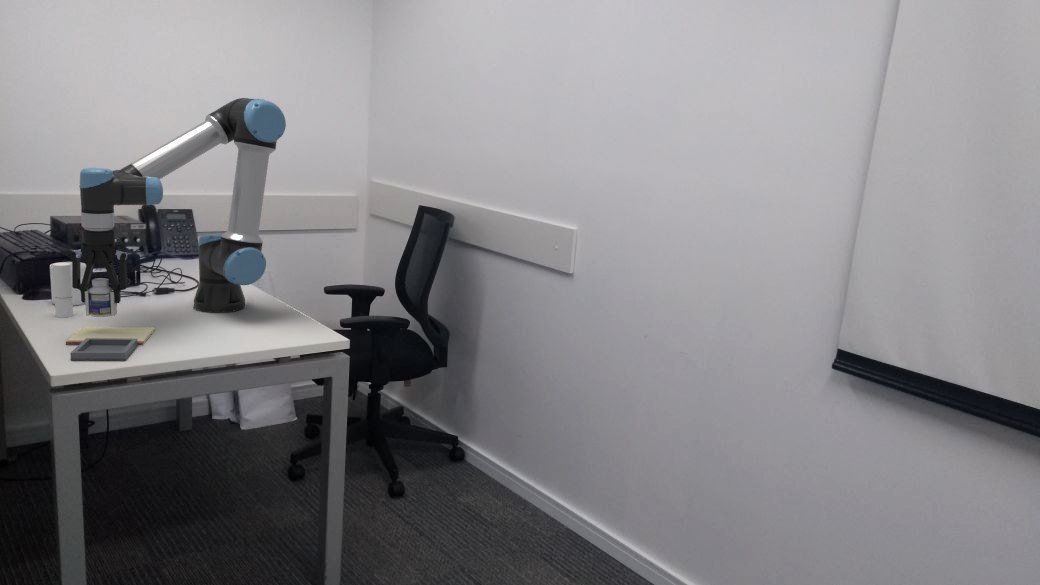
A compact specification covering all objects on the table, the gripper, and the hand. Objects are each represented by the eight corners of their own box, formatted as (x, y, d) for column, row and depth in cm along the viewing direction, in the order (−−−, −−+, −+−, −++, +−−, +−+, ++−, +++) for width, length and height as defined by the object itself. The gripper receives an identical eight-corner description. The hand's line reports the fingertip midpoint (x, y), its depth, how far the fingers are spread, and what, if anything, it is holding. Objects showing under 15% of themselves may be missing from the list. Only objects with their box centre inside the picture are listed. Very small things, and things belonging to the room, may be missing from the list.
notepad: (155, 330, 214) (154, 327, 214) (142, 345, 201) (142, 342, 201) (83, 329, 210) (83, 326, 210) (65, 344, 197) (65, 341, 197)
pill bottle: (95, 312, 209) (94, 277, 207) (116, 313, 209) (115, 278, 207) (86, 317, 204) (84, 281, 202) (107, 318, 204) (106, 282, 202)
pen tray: (137, 346, 200) (137, 338, 200) (125, 360, 189) (124, 353, 188) (86, 345, 198) (86, 338, 197) (70, 360, 186) (70, 352, 186)
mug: (46, 306, 229) (44, 267, 227) (62, 296, 241) (60, 259, 238) (81, 307, 231) (79, 268, 229) (95, 297, 243) (93, 260, 240)
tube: (65, 318, 219) (62, 266, 216) (52, 316, 220) (48, 264, 216) (76, 314, 223) (73, 263, 220) (63, 312, 224) (60, 262, 221)
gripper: (140, 227, 207) (142, 311, 212) (64, 224, 203) (68, 310, 208) (133, 232, 200) (135, 319, 205) (53, 228, 196) (58, 317, 201)
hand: (101, 314), depth 206 cm, fingers closed on pill bottle, 5 cm apart
